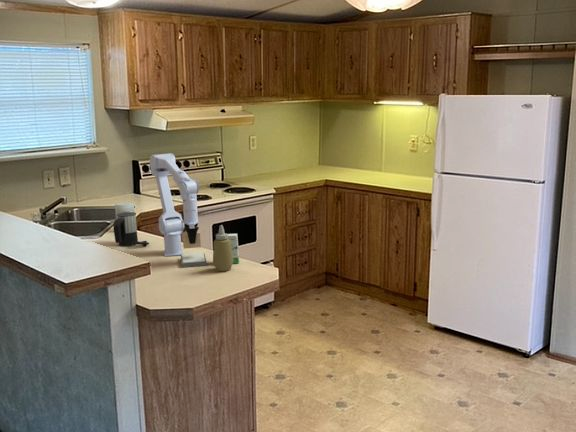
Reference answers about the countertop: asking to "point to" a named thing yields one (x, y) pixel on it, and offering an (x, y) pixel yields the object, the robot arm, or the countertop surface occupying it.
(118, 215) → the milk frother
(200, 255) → the grey picture frame
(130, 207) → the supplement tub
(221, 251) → the squeeze bottle
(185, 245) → the carton
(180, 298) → the countertop surface
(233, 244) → the ink box
